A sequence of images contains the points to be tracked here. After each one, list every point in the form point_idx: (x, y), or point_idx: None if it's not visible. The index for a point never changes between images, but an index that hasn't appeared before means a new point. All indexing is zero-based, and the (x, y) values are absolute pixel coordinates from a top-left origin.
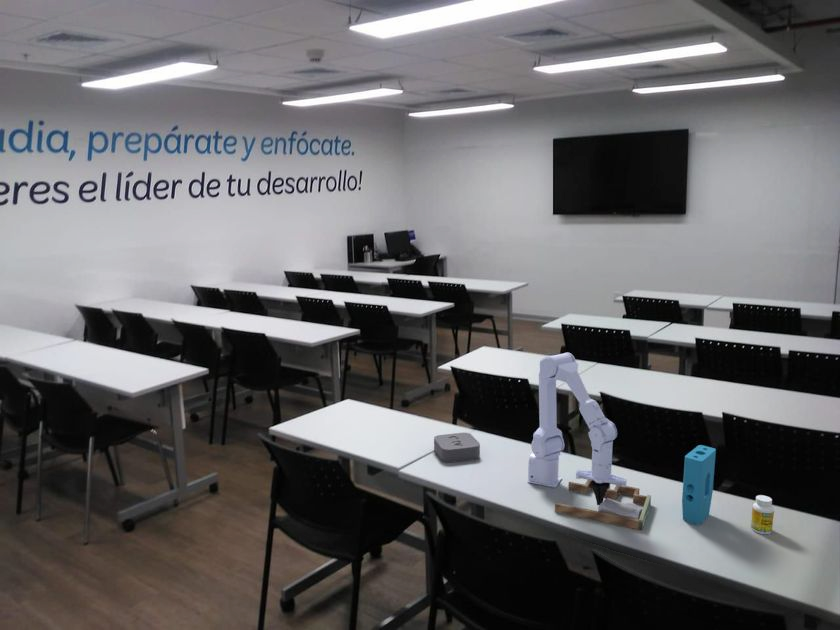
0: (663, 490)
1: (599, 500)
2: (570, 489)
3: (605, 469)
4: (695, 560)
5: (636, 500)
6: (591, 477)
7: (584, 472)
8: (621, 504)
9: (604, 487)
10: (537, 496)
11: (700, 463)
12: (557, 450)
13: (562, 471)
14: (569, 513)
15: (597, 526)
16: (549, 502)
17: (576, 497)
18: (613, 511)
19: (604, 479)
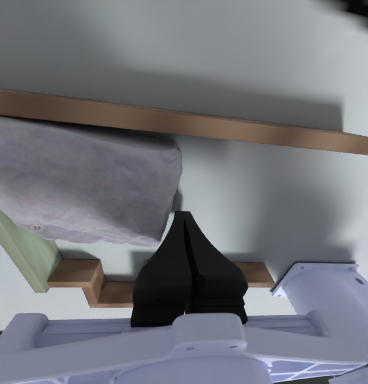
0: (62, 311)
1: (183, 222)
2: (260, 265)
3: None
4: None
5: (87, 267)
6: (273, 355)
7: (307, 372)
8: (93, 219)
9: (157, 280)
10: (360, 214)
11: None
12: None
13: (263, 309)
14: (295, 126)
15: (171, 46)
16: (336, 193)
17: (247, 240)
18: (97, 139)
19: (155, 367)
